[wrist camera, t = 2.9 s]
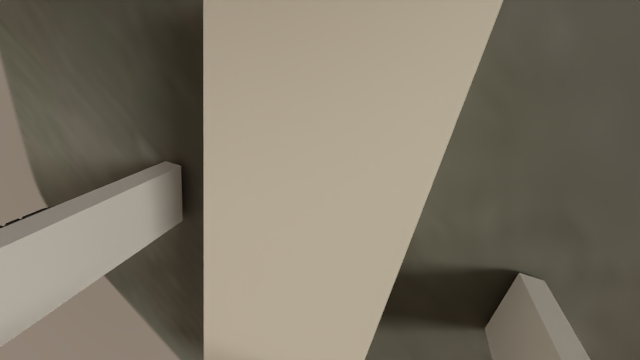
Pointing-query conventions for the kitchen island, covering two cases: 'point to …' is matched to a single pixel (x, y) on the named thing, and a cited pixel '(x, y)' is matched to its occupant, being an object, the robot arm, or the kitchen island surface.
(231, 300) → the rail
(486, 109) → the kitchen island surface
